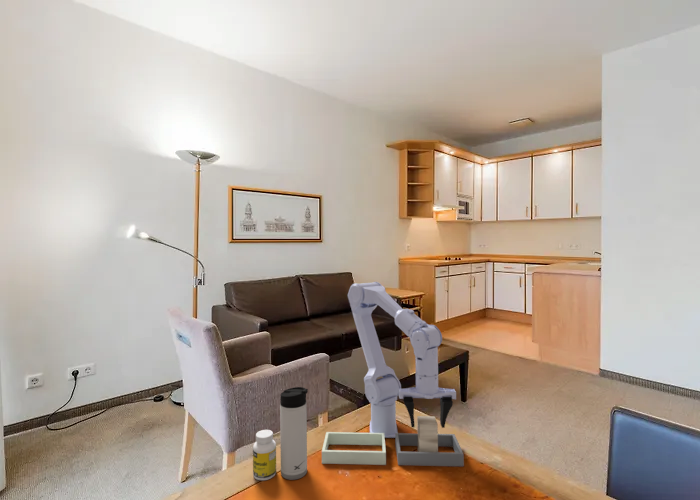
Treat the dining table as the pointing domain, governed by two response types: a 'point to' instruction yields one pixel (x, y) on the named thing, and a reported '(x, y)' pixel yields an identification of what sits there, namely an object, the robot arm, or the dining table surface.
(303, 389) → the travel mug
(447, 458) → the bin
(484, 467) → the dining table surface
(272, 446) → the supplement bottle
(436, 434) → the ash block
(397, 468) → the dining table surface
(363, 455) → the bin
